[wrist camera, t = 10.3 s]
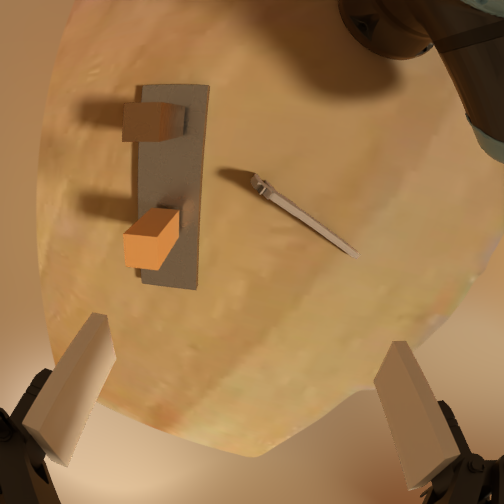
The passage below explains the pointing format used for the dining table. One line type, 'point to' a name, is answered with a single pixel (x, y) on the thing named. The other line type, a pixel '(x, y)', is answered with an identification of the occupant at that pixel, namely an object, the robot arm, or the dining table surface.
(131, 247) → the slide leg
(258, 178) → the caliper
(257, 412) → the dining table surface
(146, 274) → the bar
